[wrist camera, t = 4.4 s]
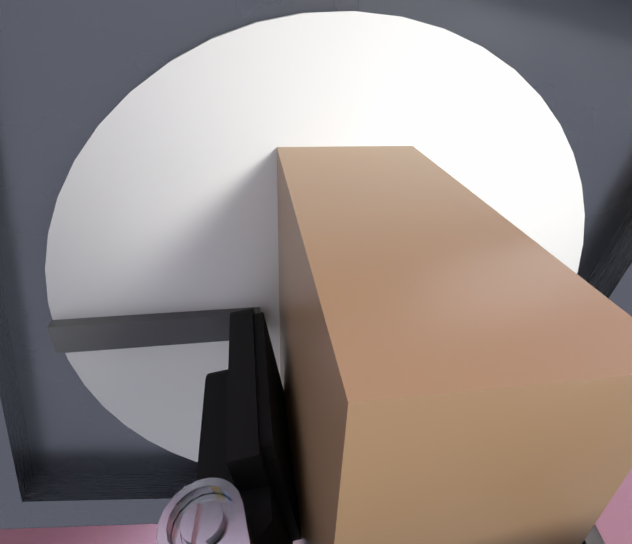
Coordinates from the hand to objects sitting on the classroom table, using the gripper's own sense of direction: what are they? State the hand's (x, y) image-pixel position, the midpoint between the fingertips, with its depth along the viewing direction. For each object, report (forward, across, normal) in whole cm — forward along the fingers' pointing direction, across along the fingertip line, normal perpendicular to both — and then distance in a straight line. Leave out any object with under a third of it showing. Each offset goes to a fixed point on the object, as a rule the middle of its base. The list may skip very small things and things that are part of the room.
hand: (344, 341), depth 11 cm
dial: (+2, 0, 0) cm, 2 cm away
